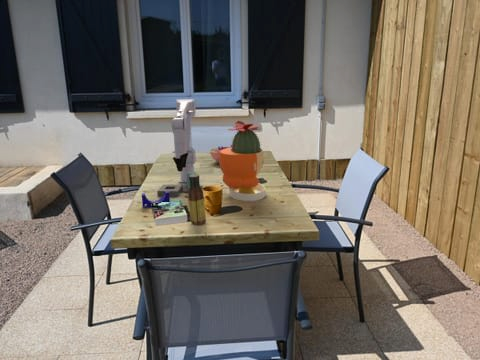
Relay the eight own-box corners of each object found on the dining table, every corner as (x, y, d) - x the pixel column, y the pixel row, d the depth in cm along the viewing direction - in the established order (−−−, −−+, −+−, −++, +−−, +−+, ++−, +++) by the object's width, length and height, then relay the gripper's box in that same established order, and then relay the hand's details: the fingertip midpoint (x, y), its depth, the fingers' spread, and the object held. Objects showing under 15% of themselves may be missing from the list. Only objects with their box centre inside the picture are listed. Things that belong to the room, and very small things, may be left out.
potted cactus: (254, 185, 212) (253, 117, 202) (273, 198, 192) (273, 123, 182) (214, 191, 204) (211, 120, 195) (229, 205, 185) (227, 127, 175)
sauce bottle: (206, 219, 168) (204, 172, 163) (205, 225, 162) (203, 177, 157) (190, 220, 168) (187, 173, 162) (189, 226, 162) (186, 177, 156)
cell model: (211, 159, 268) (210, 142, 265) (242, 159, 267) (241, 142, 264) (208, 166, 252) (207, 148, 249) (241, 165, 251) (240, 147, 248)
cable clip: (168, 201, 191) (167, 189, 189) (170, 205, 187) (169, 192, 185) (142, 205, 187) (141, 192, 186) (143, 208, 183) (142, 195, 182)
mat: (185, 186, 212) (185, 185, 212) (202, 187, 211) (202, 185, 211) (181, 192, 203) (181, 191, 203) (199, 192, 203) (199, 191, 202)
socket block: (163, 189, 209) (163, 184, 208) (182, 189, 208) (182, 184, 207) (157, 196, 199) (157, 191, 198) (177, 196, 198) (177, 191, 197)
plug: (189, 187, 209) (188, 172, 207) (196, 187, 209) (196, 172, 207) (187, 189, 205) (186, 174, 203) (195, 189, 205) (194, 174, 203)
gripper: (175, 139, 209) (177, 165, 213) (168, 145, 195) (170, 173, 199) (189, 139, 209) (190, 165, 213) (183, 145, 195) (184, 172, 199)
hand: (181, 169), depth 206 cm, fingers open, 7 cm apart
